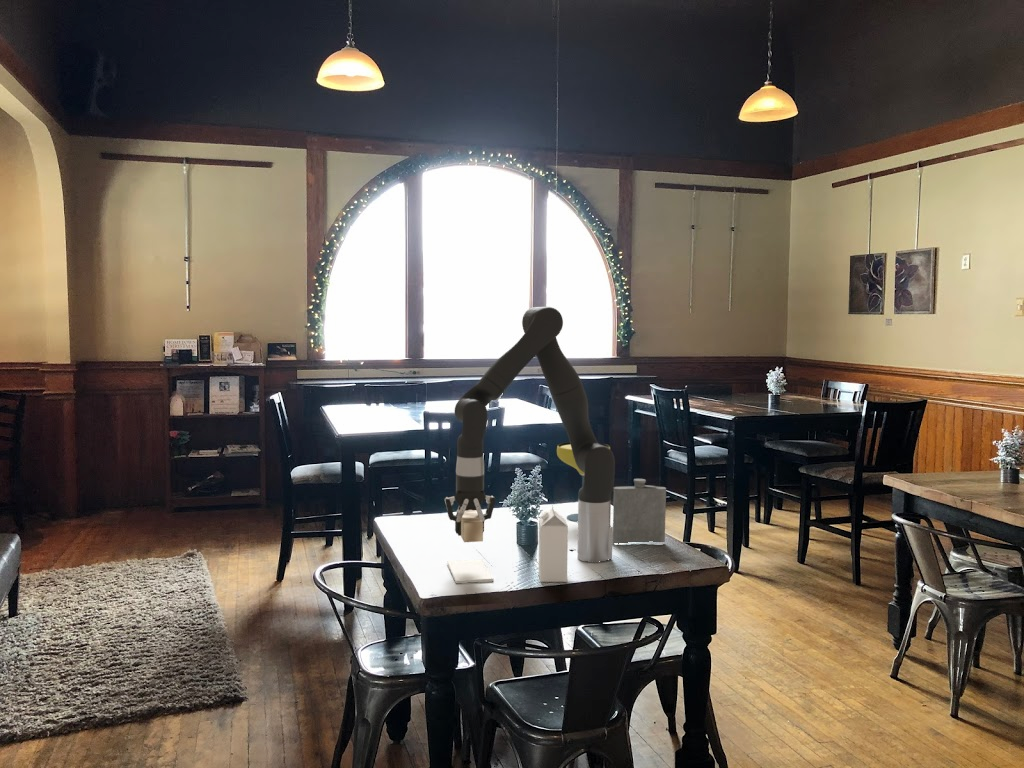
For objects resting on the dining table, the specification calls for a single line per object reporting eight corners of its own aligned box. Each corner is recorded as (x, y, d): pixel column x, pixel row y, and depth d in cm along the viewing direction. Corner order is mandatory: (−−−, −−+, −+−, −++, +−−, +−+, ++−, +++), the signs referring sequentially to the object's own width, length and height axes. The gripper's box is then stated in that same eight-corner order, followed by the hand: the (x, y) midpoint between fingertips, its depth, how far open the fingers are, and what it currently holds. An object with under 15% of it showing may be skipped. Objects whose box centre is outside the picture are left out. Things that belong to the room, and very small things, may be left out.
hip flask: (613, 545, 258) (614, 480, 256) (611, 542, 262) (612, 478, 260) (665, 545, 258) (667, 480, 256) (662, 542, 262) (664, 478, 261)
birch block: (474, 509, 237) (482, 522, 223) (474, 527, 237) (482, 541, 224) (456, 510, 236) (464, 523, 222) (456, 528, 236) (464, 542, 223)
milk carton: (564, 573, 231) (565, 505, 229) (567, 582, 223) (568, 511, 222) (538, 574, 230) (539, 505, 228) (540, 582, 223) (541, 511, 221)
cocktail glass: (545, 516, 292) (546, 444, 290) (584, 509, 303) (585, 439, 301) (580, 527, 278) (581, 452, 276) (620, 519, 289) (621, 447, 286)
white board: (482, 562, 240) (482, 559, 240) (493, 581, 224) (493, 578, 224) (447, 564, 238) (447, 561, 238) (455, 583, 222) (455, 580, 221)
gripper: (445, 476, 223) (444, 539, 225) (499, 474, 226) (498, 537, 228) (441, 470, 231) (441, 532, 232) (493, 469, 233) (493, 530, 235)
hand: (469, 534), depth 230 cm, fingers closed on birch block, 5 cm apart
